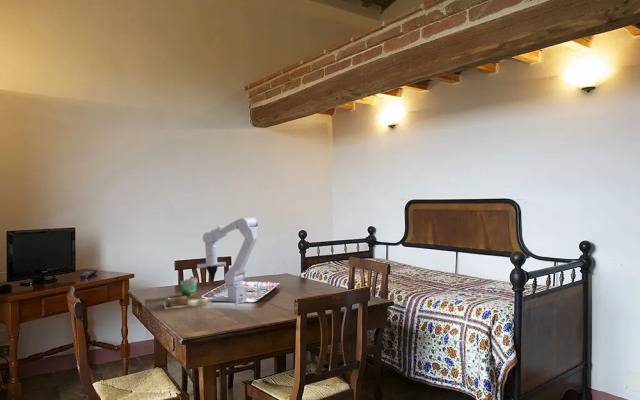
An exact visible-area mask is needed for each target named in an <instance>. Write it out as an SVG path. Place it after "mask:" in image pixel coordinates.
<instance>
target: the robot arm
mask: <svg viewBox="0 0 640 400" xmlns="http://www.w3.org/2000/svg"><path fill="white" fill-rule="evenodd" d="M259 226H260V224H259V221H258V219H257V218H256V217H254V216H251V217H240V218H239V219H236V220H234V221H232V222H231V223H229V224H227V225H226V226H224V225H218V226H217V228H215V229H214V228H213V229H211V230H210V231H207V232H205V233H204V234H203V235H202V241H203V243H205V263H198V264H196V267H197V268H196V269H203V268H204V269H205V268H206V270H207V272H208V275H209V279H210V282H214V281H215V276H216V274H217V272H218V269H219V268H218V267H227V262H226V261H218V242H219V240H221V239H223V238H225V237H227V236H228V233H230V232H233V231H234V230H239V232H240V233H241V234H242V235H241V236H243V237H244V240H243V243H242V245H241V248H240V249H239V252H238V254H237V256H236V258H235V261H234V264H233V265H232V266H231V267H229V269H227V270H228V271H227V272H225V274H224V275H223V276H224V277H223V280H224V282H225V284H226V285H227V299H228V301H231V302H232V303H233V304H234V305H238V304H242V303H247V302H248V301H246V300H247V289H246V287H245V286H244V285H243V283H244V280H245V278H246V271H247V270H246V268H245V267H246V264H247V262H248V260H249V258H250V255H251V254H252V251H253V249H254V247H255V245H256V242H257V239H258V229H259V228H260V227H259Z"/></svg>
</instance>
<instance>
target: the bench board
mask: <svg viewBox="0 0 640 400" xmlns="http://www.w3.org/2000/svg"><path fill="white" fill-rule="evenodd" d="M211 304H212V305H213V302H212V301H211V299H210V297H209V298H208V297H207V298H199V299H198V298H197V299H190V300H188V305H182V306H174V307H166V305H165V302H164V303H163V306H164V309H165V310H171V309H178V308H186V307H195V306H202V305H204V306H205V305H211Z"/></svg>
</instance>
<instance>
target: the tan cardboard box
mask: <svg viewBox="0 0 640 400" xmlns="http://www.w3.org/2000/svg"><path fill="white" fill-rule="evenodd" d="M169 299H170V307H174V306H182V305H188V301H189V300H188V296H183V297H182V296H175V297H169Z"/></svg>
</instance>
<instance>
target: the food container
mask: <svg viewBox="0 0 640 400" xmlns="http://www.w3.org/2000/svg"><path fill="white" fill-rule="evenodd" d="M198 282H199V281H198V278H197V277H196V276H190V278H187V279H185V280H180V282H179V285H180V292H181V293H180V294H181V297H183V296H186V297H192V296H195V295H197V283H198Z"/></svg>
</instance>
